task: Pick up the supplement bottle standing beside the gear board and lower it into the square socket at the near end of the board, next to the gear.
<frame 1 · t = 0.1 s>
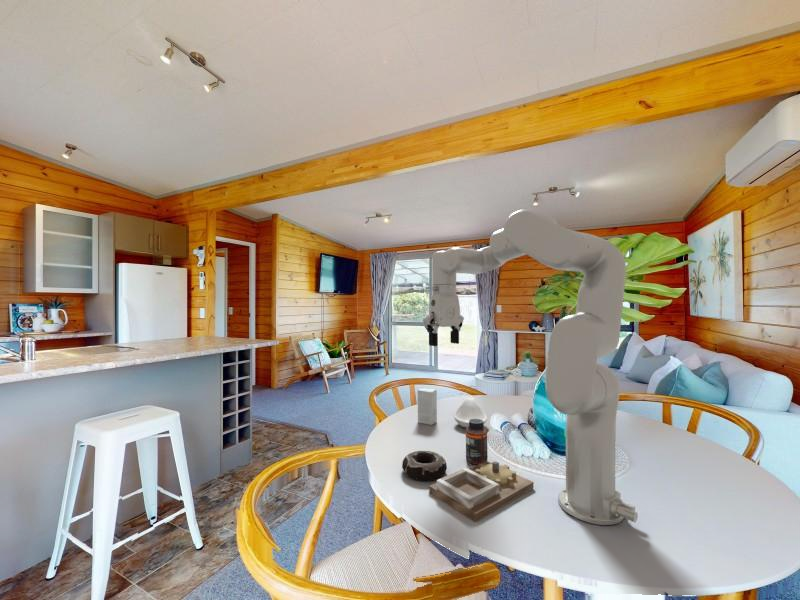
hand: (444, 344, 113), 31 cm above the table, tool pointing down, fingers open, 9 cm apart
spoon rest: (469, 421, 134), on the table
donut: (424, 473, 94), on the table
gear board: (481, 490, 85), on the table
supplement bottle: (476, 461, 100), on the table
skincare box: (427, 422, 132), on the table
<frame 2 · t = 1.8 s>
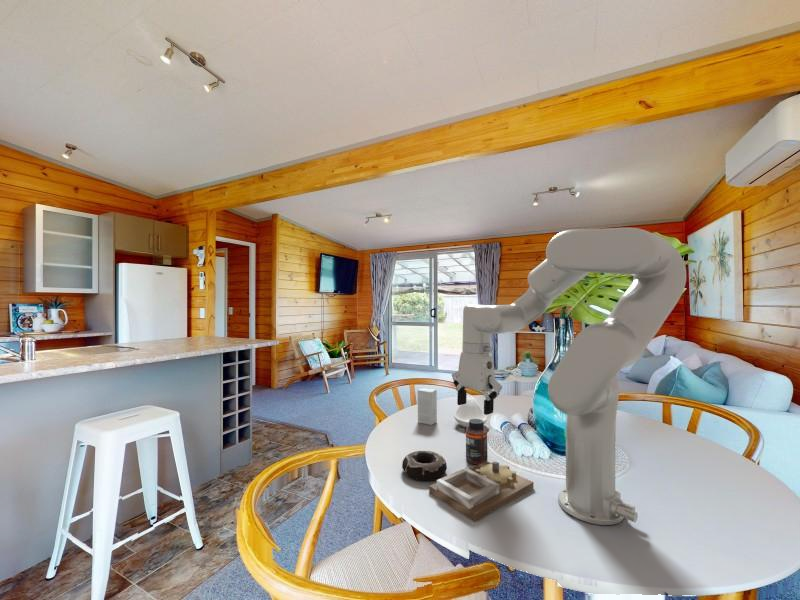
hand: (474, 408, 101), 14 cm above the table, tool pointing down, fingers open, 9 cm apart
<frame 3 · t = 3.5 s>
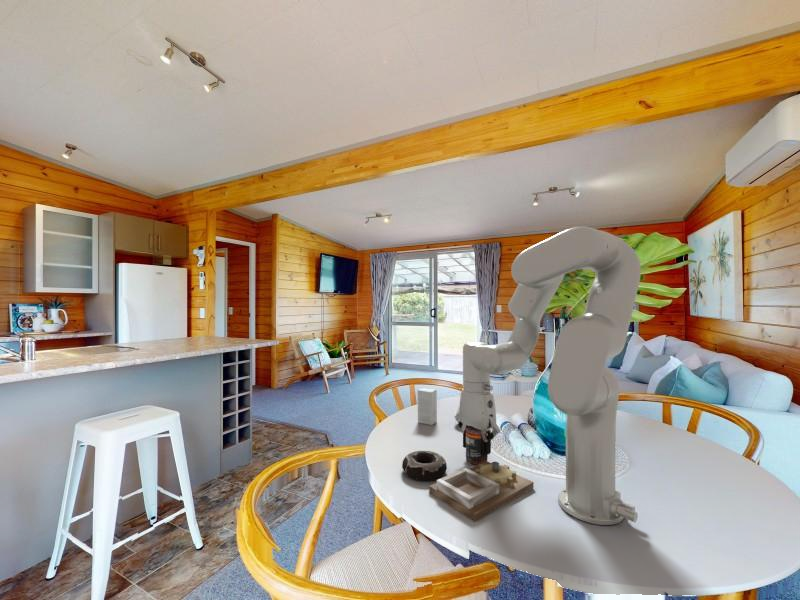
hand: (476, 449, 100), 3 cm above the table, tool pointing down, fingers closed on supplement bottle, 6 cm apart
supplement bottle: (476, 461, 100), on the table, touching gripper
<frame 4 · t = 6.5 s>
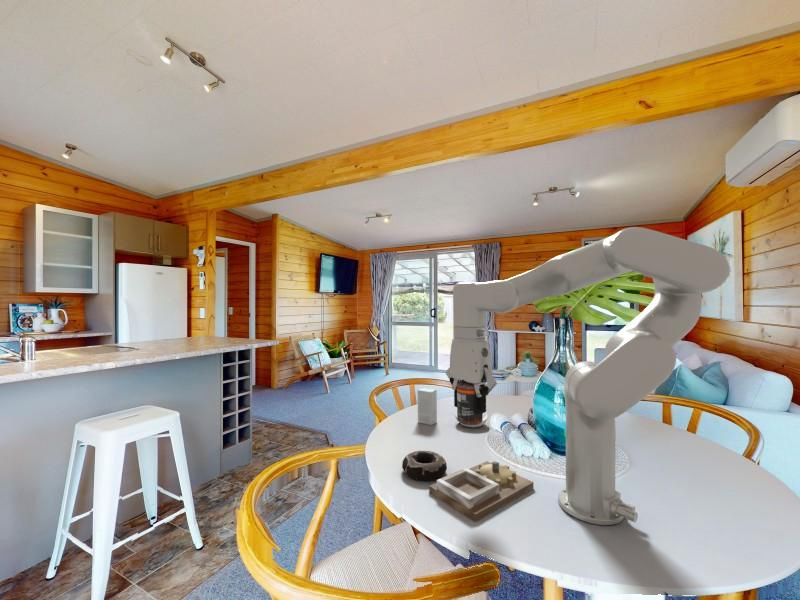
hand: (469, 408, 85), 19 cm above the table, tool pointing down, fingers closed on supplement bottle, 6 cm apart
supplement bottle: (469, 422, 85), point 16 cm above the table, touching gripper
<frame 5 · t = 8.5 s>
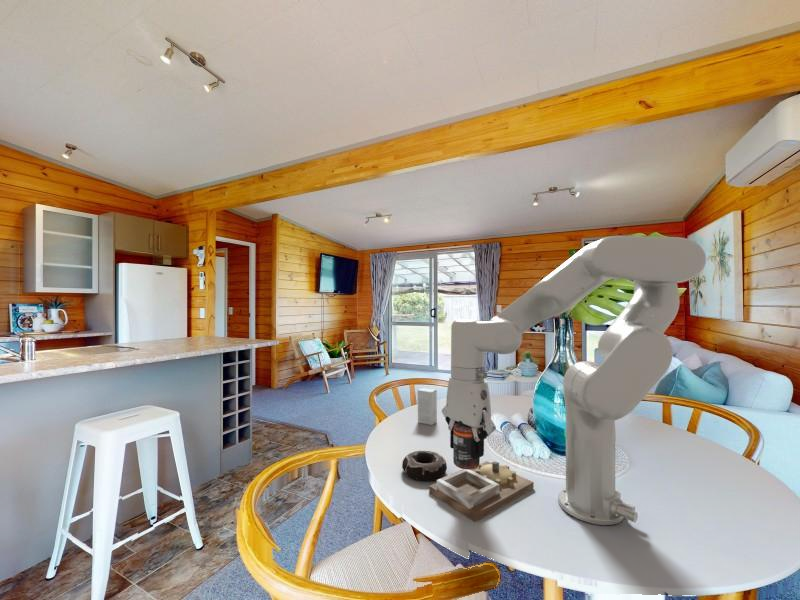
hand: (466, 451, 82), 11 cm above the table, tool pointing down, fingers closed on supplement bottle, 6 cm apart
supplement bottle: (466, 465, 82), point 7 cm above the table, touching gripper
when the fingers open (5 cm above the table, at t = 10.0 s): supplement bottle stays where it is, resting on gear board.
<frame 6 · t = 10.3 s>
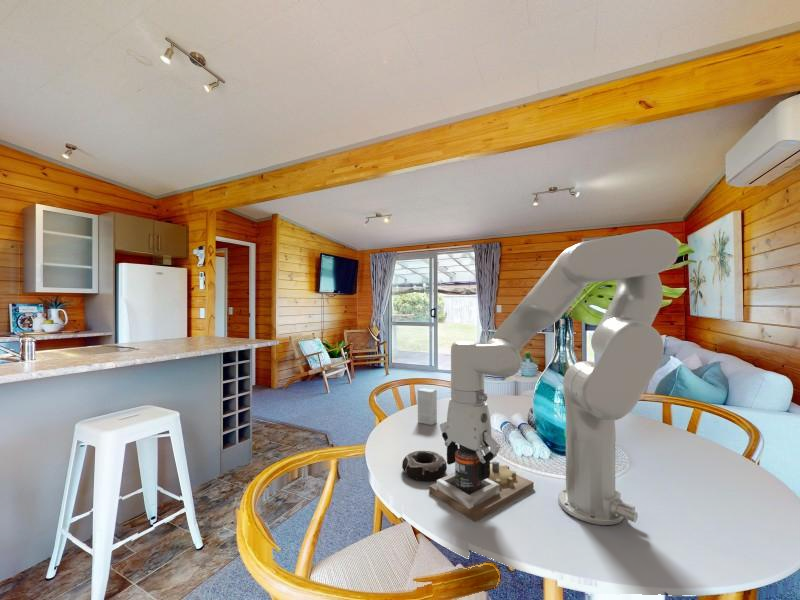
hand: (467, 470, 82), 6 cm above the table, tool pointing down, fingers open, 9 cm apart
supplement bottle: (468, 491, 82), point 1 cm above the table, touching gear board
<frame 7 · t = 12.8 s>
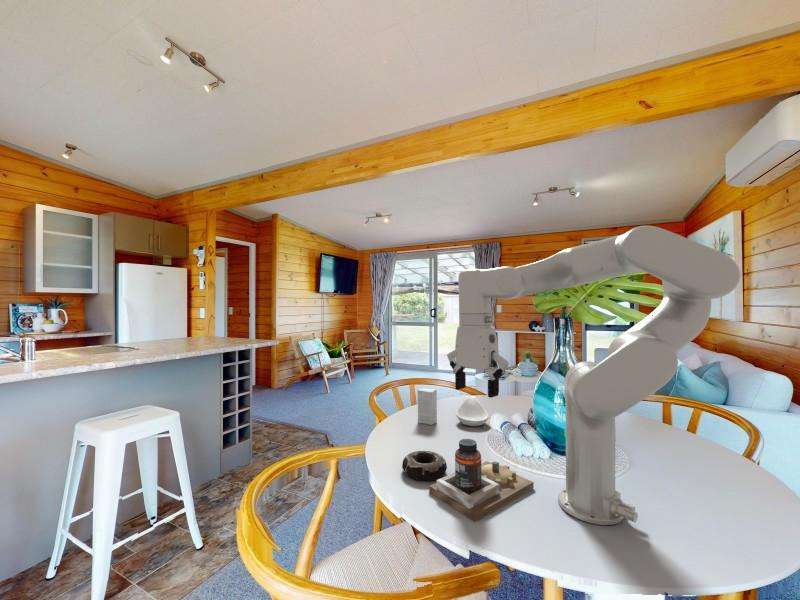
hand: (476, 392, 85), 23 cm above the table, tool pointing down, fingers open, 9 cm apart
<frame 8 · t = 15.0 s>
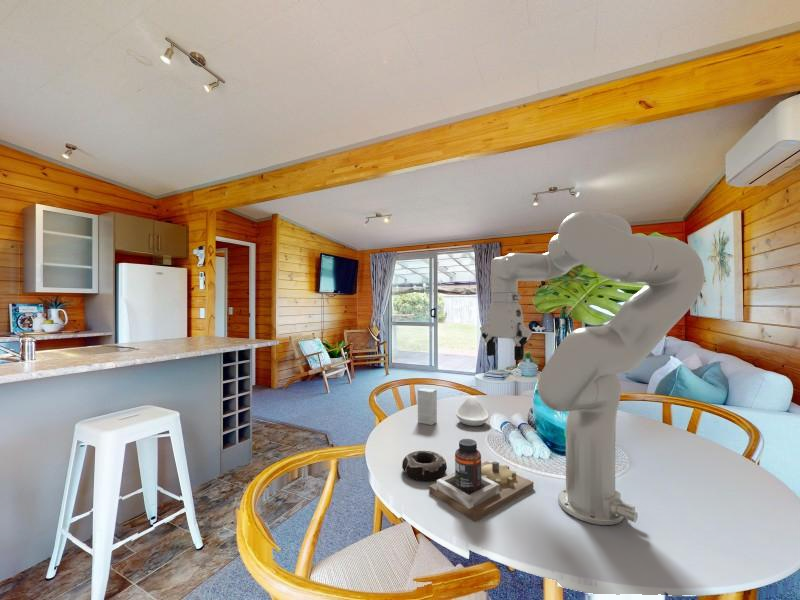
hand: (504, 357, 105), 28 cm above the table, tool pointing down, fingers open, 9 cm apart
at the end: supplement bottle 0.2 cm from the target spot on the gear board, point 1.3 cm above the gear board's base; supplement bottle tilted 0°; the gripper is holding nothing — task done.
